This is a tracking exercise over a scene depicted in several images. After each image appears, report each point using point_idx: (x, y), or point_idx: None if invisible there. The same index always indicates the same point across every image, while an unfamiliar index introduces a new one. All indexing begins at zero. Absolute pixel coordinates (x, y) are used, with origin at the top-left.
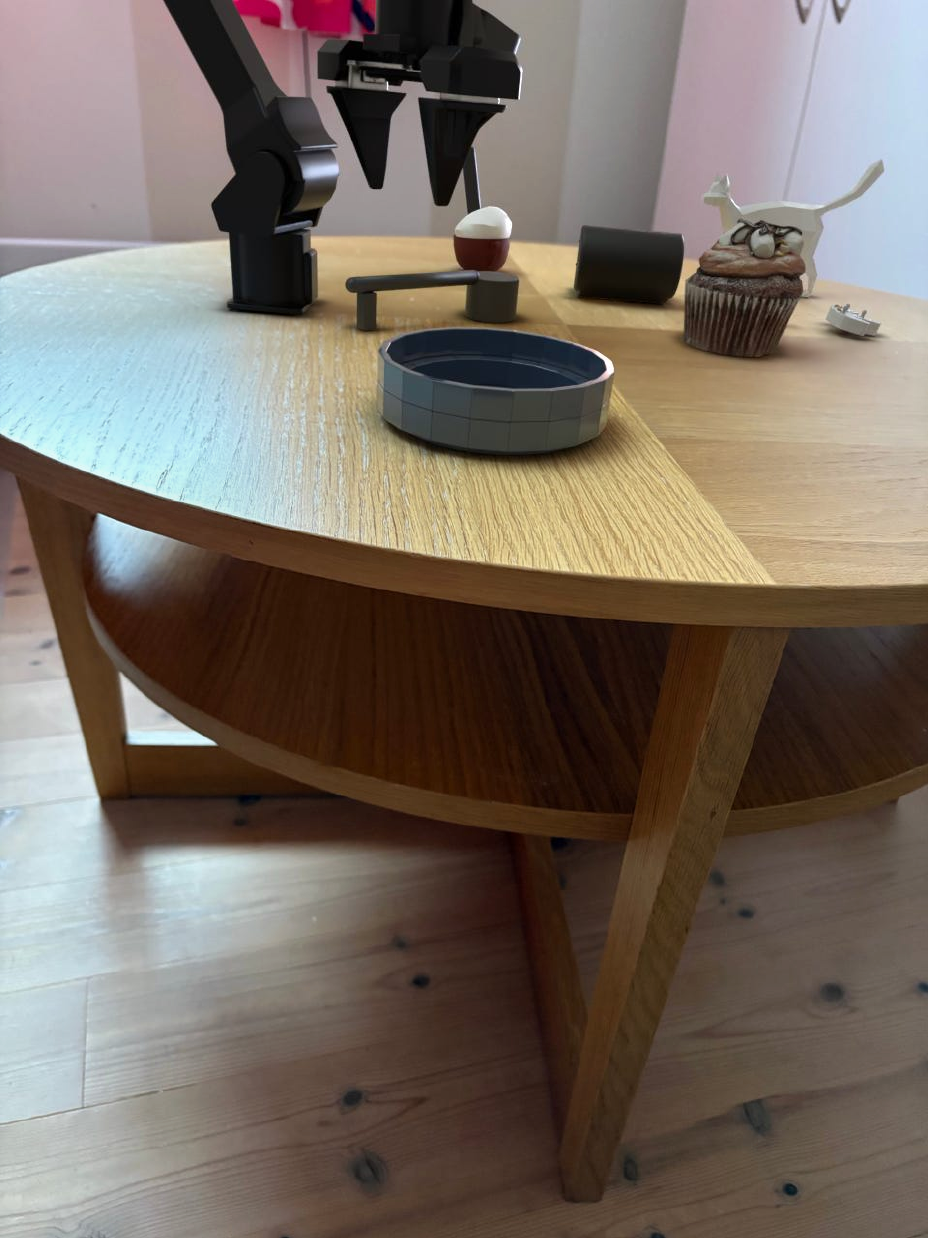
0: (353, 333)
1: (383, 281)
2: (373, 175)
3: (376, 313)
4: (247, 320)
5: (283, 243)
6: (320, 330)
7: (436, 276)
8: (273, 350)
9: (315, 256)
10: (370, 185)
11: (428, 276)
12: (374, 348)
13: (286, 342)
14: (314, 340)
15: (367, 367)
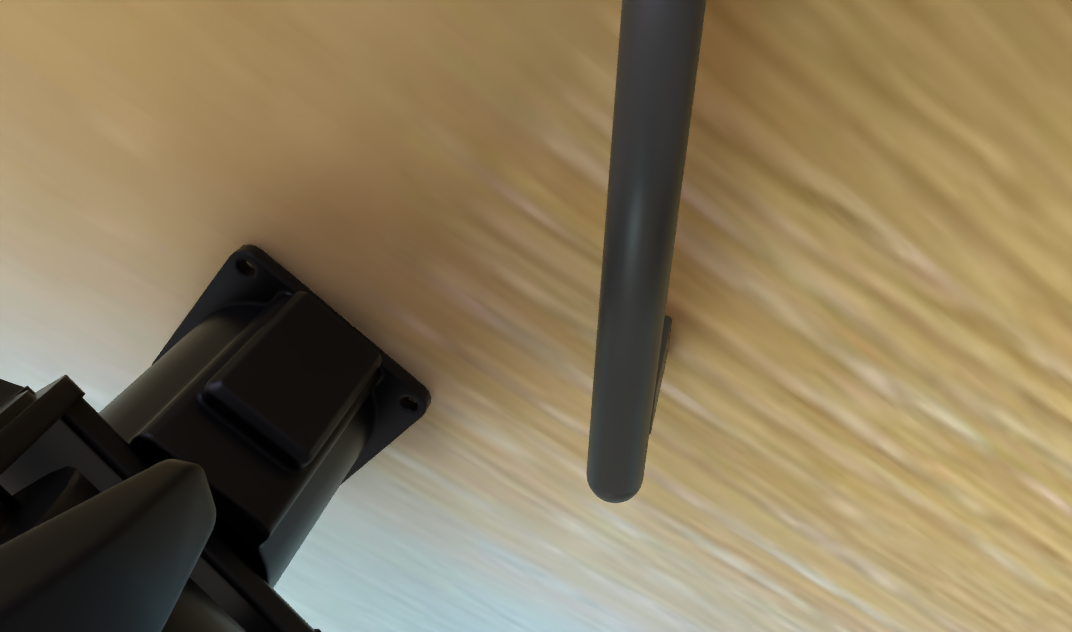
0: (672, 394)
1: (651, 393)
2: (169, 576)
3: (664, 347)
4: (432, 506)
5: (283, 550)
6: None
7: (681, 131)
8: (718, 618)
9: (259, 398)
10: (207, 539)
11: (672, 178)
12: (856, 454)
13: (669, 564)
14: (686, 511)
15: (1000, 579)
